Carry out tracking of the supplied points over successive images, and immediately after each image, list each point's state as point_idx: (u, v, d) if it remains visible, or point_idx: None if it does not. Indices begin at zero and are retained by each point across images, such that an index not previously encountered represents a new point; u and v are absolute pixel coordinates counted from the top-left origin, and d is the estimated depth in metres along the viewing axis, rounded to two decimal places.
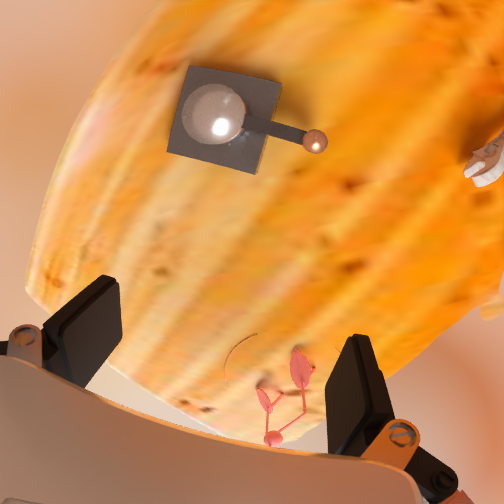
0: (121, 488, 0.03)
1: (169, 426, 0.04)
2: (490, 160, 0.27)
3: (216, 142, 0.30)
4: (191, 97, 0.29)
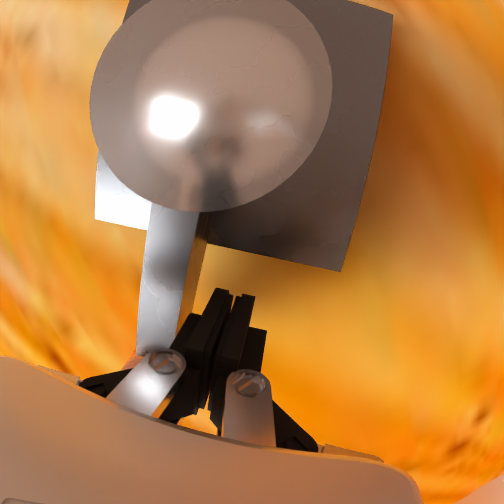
0: (121, 488, 0.03)
1: (169, 426, 0.04)
2: None
3: (93, 118, 0.07)
4: (275, 5, 0.06)
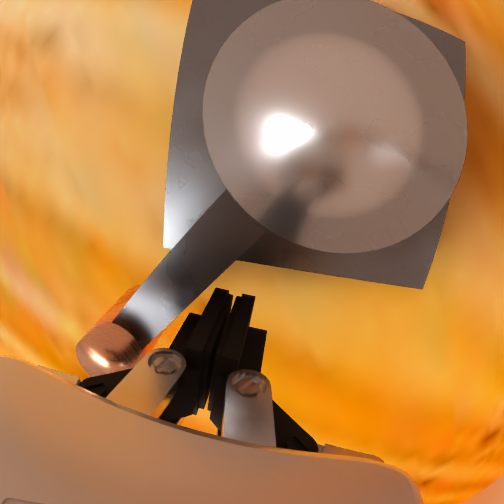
0: (121, 488, 0.03)
1: (169, 426, 0.04)
2: None
3: (216, 68, 0.06)
4: (451, 93, 0.05)
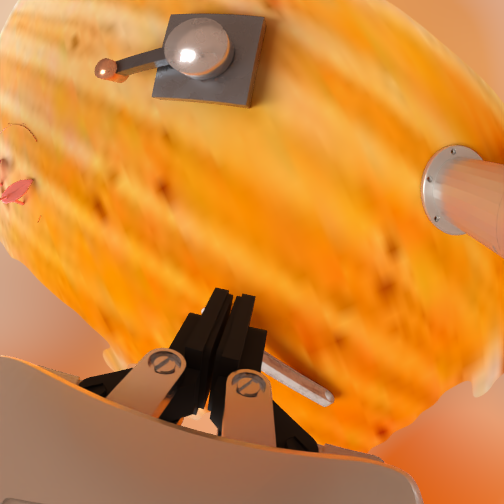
0: (121, 488, 0.03)
1: (169, 426, 0.04)
2: None
3: (181, 23, 0.24)
4: (220, 50, 0.25)
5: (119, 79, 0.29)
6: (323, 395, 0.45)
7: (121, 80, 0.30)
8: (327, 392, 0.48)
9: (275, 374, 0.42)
